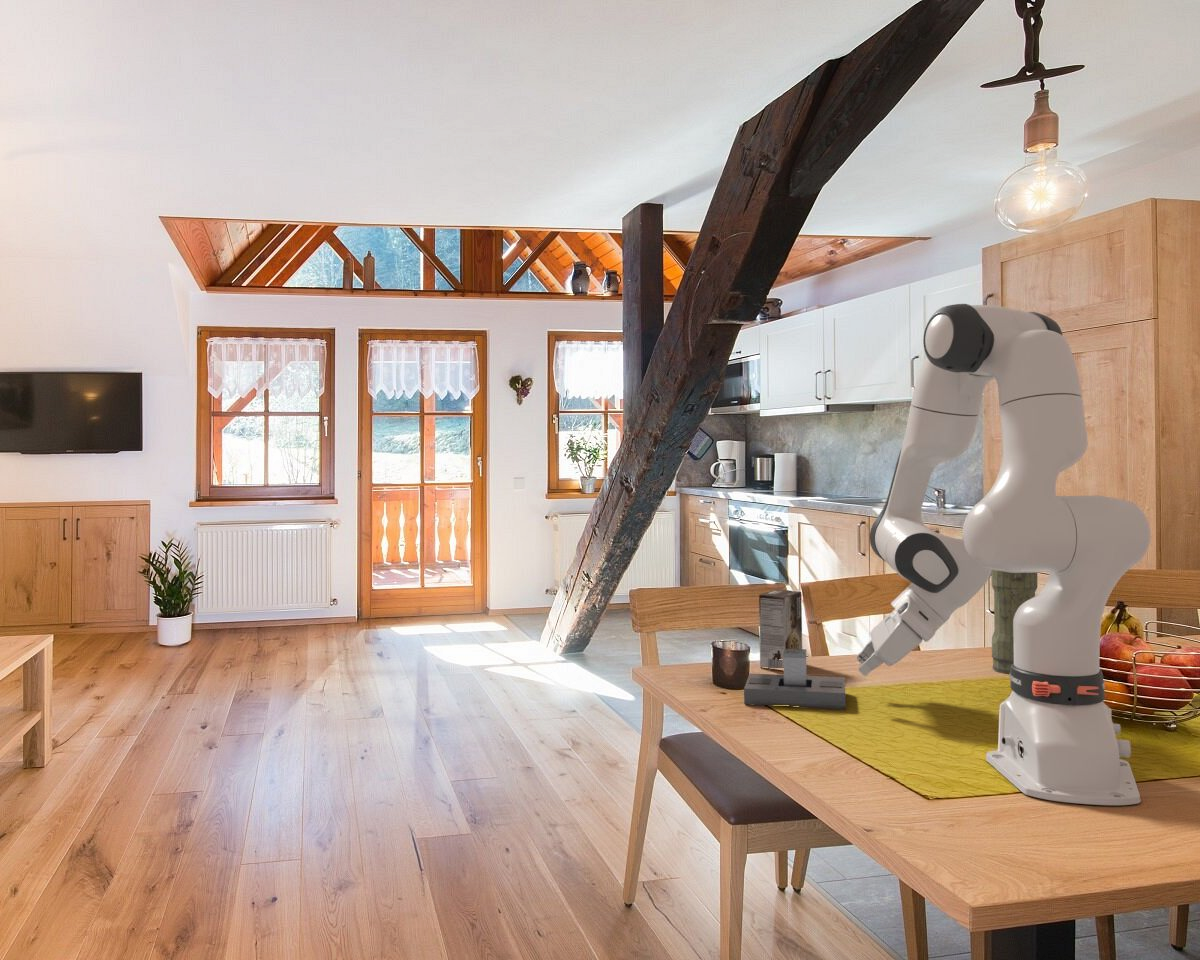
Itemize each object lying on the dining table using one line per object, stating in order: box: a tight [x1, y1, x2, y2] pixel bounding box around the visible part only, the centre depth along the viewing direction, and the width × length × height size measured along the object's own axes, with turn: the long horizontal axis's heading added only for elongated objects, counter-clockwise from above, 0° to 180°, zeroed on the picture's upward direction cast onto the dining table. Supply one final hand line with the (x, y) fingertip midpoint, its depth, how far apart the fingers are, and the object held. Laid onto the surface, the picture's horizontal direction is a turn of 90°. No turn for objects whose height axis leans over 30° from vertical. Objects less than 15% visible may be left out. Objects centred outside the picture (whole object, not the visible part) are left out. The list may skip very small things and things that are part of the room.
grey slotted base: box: [743, 673, 847, 711], centre depth 167 cm, size 12×18×3 cm, turn 76°
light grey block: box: [783, 648, 808, 687], centre depth 167 cm, size 4×4×9 cm
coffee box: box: [758, 589, 803, 668], centre depth 194 cm, size 9×6×16 cm
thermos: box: [991, 570, 1038, 675], centre depth 187 cm, size 9×12×35 cm
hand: (860, 666), depth 164 cm, fingers open, 8 cm apart
